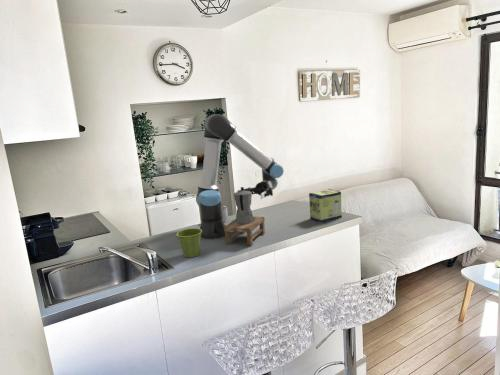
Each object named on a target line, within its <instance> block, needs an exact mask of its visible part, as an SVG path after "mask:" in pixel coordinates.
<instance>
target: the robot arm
mask: <svg viewBox="0 0 500 375" xmlns="http://www.w3.org/2000/svg"><path fill="white" fill-rule="evenodd" d="M203 129H204V131H203V139H204V140H205V148H204V157H203V166H202V172H201V173H202V174H201V183H199V185H198V186H197V187H198V188H197V193H196V195H195V203H196V204H197V206H198V207H199V211H200V212H199V213H200V221H201V222H200V226H199V229H201V230H202V232H201V237H200V238H202V239H217V238H222V237H224V236H225V231H224V227H225V226H226V223H225V221H223V216H222V207H223V206H222V196H221V192H219V189H220V188H219V186H218V185H217V183H218V182H217V181H218V176H219V175H218V174H219V167H220V166H219V165H220V157H221V151H222V150H221V149H222V143H223V142H224V143H229V144H230V145H232V146H233V147H234V148H235V149H237V150H238V151H239V152H240V153H241V154H243V155H244V156H245V157H247V158H248V159H249V160H250V161H252V162H253V163H254V164H255V165H257V167H259V168H260V169H261V174H262V180H261V181H260V182H258V183H257V184H256V185H255V187H250V186H249V187H247V188H244V191H250V192H252V195H258V196H260V200H263V199H265V198H267V197H272V196H274V192H273V191H274V190H275V189H276V188H277V187H278V184H279V182H278V181H279V180H278V179H279V178H281V177H282V176H283V175H284V167H283V166H282V165H281V164H279V163H277V162H276V161H275V159H274V158H273V157H270V156H269V155H268V154H267V153H265V152H264V151H263V150H262V149H260V148H259V147H258V146H257V145H255V144H254V143H253V142H252V141H250V140H249V139H248V138H247V137H245V136H244V134H242V133H241V132H240V131H238V127H237V126H235V125H234V124H233V123H232V122H231V121H230V120H229V119H228V117H226V116H225V115H222V114H219V113H218V114H216V113H215V114H210V115H208V117H206V118H205V120H204V123H203ZM239 191H241V189H239V190H237V191H236V192H239Z"/></svg>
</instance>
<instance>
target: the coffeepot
mask: <svg viewBox="0 0 500 375" xmlns="http://www.w3.org/2000/svg"><path fill="white" fill-rule="evenodd" d="M244 189H245V188H244V186H243V187H242V186H241V187H240V190H241V191H239V192H237V191H236V192H234V193H232V195H233V198H234V202H235V206H236V207H237V208H236V215H235V216H236V217H235V219H236V222H237V223H238V224H248V223H252V222H253V221H254V219H253V217H254V215H253V212H252V209H251V205H252V199H253V198H252V196H253V194H252V192H250V191H244Z"/></svg>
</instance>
